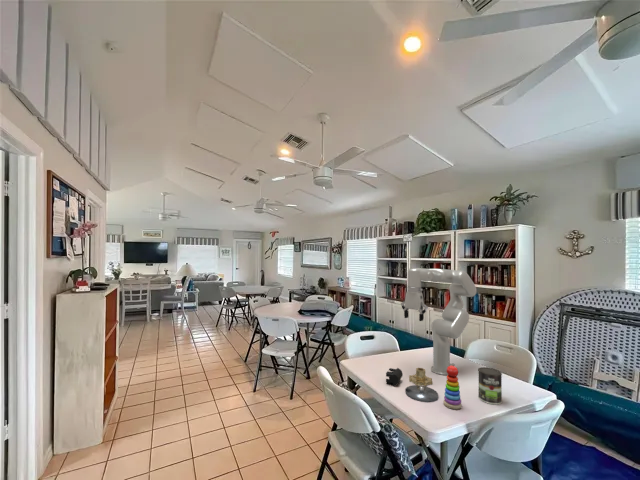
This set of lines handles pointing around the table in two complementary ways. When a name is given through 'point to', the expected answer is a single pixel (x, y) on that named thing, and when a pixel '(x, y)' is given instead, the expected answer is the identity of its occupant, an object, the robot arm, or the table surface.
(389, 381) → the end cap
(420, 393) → the plate
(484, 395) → the coffee can
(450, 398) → the stacking toy
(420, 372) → the tan faceted octagonal piece
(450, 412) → the table surface
